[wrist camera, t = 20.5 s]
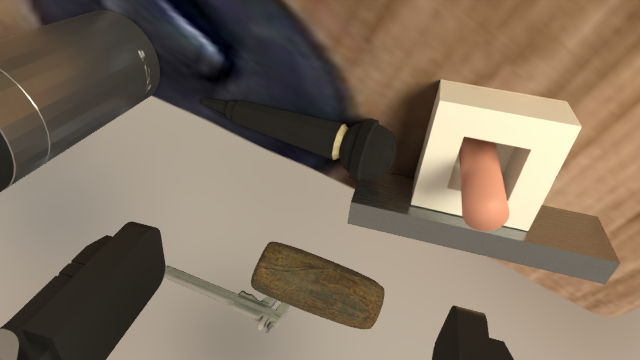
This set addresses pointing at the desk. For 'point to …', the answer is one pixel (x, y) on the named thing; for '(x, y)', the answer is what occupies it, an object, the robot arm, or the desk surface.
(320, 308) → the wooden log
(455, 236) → the backstop
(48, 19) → the desk surface
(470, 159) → the dowel
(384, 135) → the microphone
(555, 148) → the socket block
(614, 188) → the desk surface
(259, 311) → the caliper
